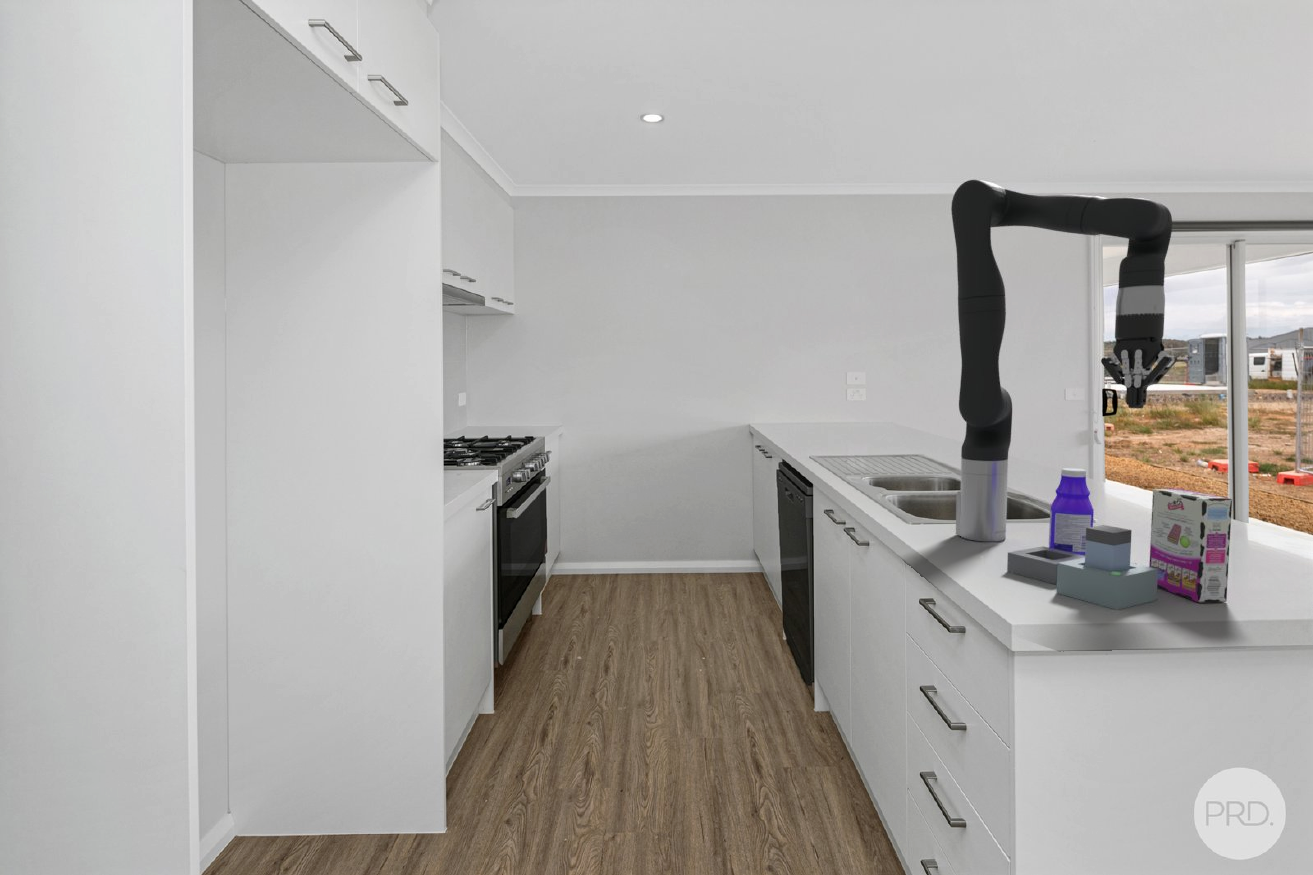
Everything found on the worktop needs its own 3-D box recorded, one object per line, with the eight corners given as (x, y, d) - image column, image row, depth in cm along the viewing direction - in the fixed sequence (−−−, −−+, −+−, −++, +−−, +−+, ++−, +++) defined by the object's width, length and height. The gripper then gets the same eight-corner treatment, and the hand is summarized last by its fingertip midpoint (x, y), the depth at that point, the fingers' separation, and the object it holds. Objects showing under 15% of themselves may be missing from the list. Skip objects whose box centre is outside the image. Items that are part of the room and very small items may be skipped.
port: (1056, 592, 124) (1057, 560, 123) (1095, 584, 128) (1096, 553, 128) (1117, 609, 115) (1118, 574, 115) (1156, 600, 119) (1158, 566, 119)
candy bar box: (1229, 602, 118) (1235, 498, 116) (1199, 604, 117) (1204, 499, 116) (1174, 582, 129) (1178, 487, 127) (1146, 584, 128) (1150, 488, 127)
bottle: (1088, 557, 147) (1091, 467, 145) (1094, 564, 141) (1098, 471, 140) (1046, 554, 149) (1049, 466, 148) (1051, 561, 144) (1054, 470, 142)
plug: (1083, 588, 123) (1086, 527, 122) (1101, 584, 125) (1103, 524, 124) (1111, 596, 119) (1113, 533, 118) (1128, 591, 121) (1131, 530, 120)
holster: (1007, 571, 137) (1007, 552, 137) (1042, 564, 141) (1042, 546, 141) (1055, 584, 129) (1056, 564, 128) (1091, 576, 133) (1091, 557, 133)
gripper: (1190, 310, 134) (1186, 408, 135) (1116, 315, 146) (1113, 406, 147) (1165, 309, 131) (1160, 410, 132) (1091, 315, 142) (1088, 407, 144)
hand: (1135, 408), depth 140 cm, fingers closed
